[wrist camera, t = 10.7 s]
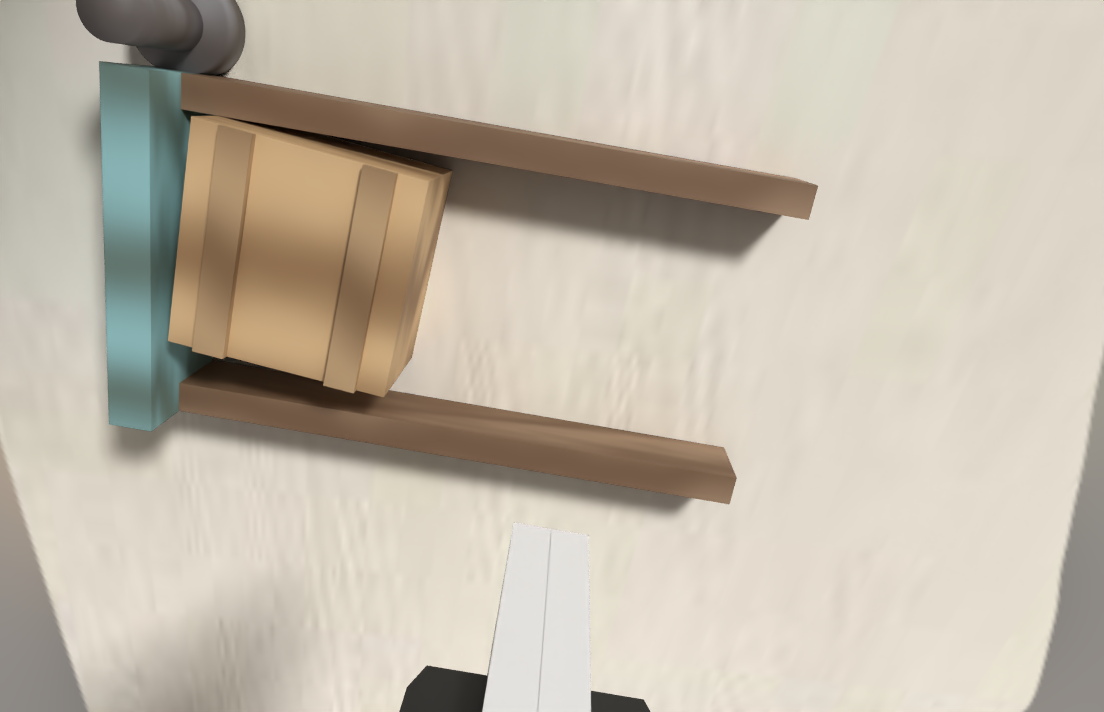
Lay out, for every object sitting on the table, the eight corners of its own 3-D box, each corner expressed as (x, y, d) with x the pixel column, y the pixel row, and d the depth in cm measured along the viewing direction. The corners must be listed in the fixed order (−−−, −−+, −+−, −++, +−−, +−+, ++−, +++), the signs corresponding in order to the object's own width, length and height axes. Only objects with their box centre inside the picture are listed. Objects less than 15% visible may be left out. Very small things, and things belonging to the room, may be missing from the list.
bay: (151, -34, 34) (46, -68, 27) (821, 86, 34) (877, 82, 28) (153, 375, 40) (69, 428, 34) (717, 471, 41) (743, 542, 34)
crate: (252, 115, 36) (186, 116, 30) (453, 170, 37) (426, 182, 30) (228, 307, 39) (163, 343, 33) (412, 356, 40) (381, 400, 34)
